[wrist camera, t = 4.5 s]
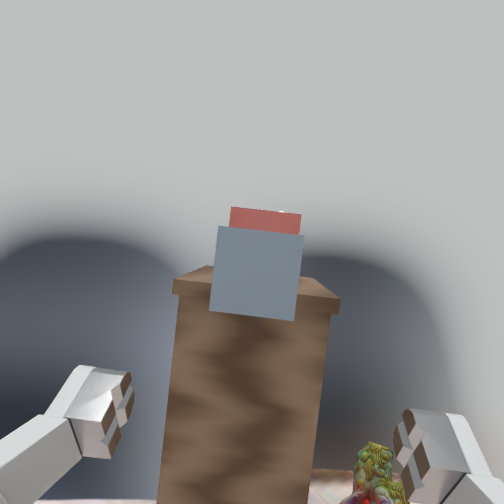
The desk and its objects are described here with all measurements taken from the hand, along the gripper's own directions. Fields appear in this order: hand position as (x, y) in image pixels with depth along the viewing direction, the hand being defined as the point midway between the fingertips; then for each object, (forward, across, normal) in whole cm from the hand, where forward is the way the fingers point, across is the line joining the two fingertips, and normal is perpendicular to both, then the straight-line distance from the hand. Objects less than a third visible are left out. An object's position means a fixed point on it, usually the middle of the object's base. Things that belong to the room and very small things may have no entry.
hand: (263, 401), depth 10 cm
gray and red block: (+12, -1, -5) cm, 13 cm away
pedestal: (+4, -1, -30) cm, 31 cm away
